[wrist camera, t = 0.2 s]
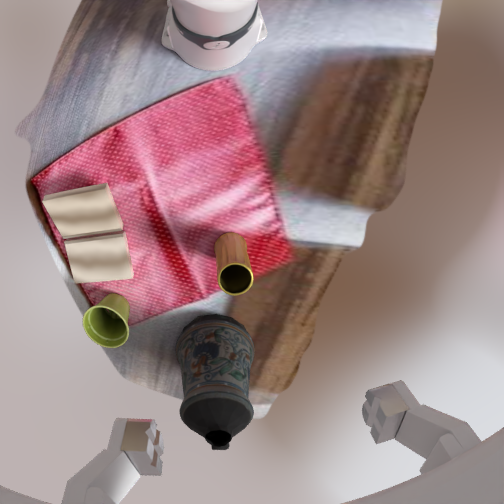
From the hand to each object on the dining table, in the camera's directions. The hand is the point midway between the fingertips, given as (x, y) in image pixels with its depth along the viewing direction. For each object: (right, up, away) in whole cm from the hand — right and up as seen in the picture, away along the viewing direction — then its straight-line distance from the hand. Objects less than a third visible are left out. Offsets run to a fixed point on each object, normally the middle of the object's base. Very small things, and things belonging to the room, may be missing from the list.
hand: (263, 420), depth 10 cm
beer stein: (-8, -15, +55) cm, 58 cm away
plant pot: (-29, -5, +49) cm, 57 cm away
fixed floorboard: (-30, +5, +45) cm, 55 cm away
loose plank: (-31, +14, +39) cm, 51 cm away
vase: (-4, +7, +48) cm, 49 cm away
